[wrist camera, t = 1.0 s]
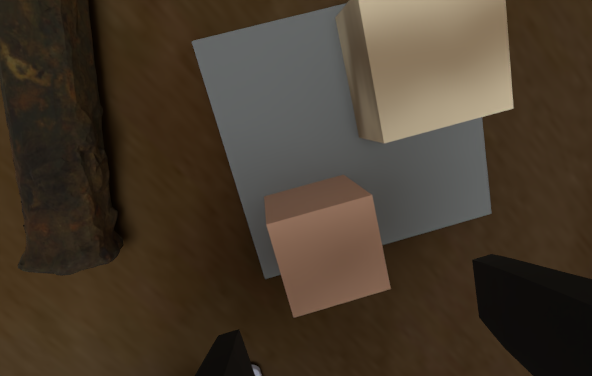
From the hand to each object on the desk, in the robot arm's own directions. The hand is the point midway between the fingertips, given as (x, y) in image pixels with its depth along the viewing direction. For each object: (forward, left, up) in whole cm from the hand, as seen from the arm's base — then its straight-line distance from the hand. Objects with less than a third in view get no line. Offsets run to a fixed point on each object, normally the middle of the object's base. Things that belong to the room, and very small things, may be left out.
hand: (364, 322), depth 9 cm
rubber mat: (+4, -3, -9) cm, 11 cm away
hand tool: (+11, +10, -10) cm, 18 cm away
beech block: (+7, -6, -9) cm, 13 cm away
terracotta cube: (0, 0, -9) cm, 9 cm away
